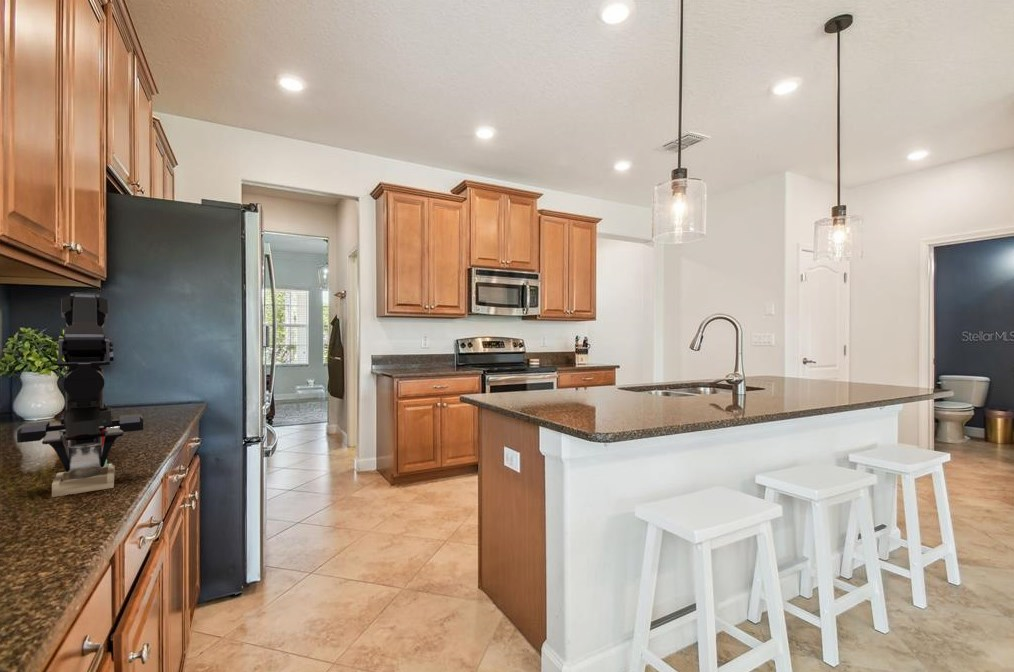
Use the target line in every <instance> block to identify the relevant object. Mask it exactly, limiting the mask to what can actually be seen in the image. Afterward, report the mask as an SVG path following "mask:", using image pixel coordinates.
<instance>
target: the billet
mask: <svg viewBox="0 0 1014 672" xmlns="http://www.w3.org/2000/svg"><path fill="white" fill-rule="evenodd" d="M101 473H102V467H101V443H86V444H79V445H74V446H71V447H69V479H82V478H89V477H93V476H97V475H99V474H101Z"/></svg>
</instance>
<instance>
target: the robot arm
mask: <svg viewBox="0 0 1014 672" xmlns="http://www.w3.org/2000/svg"><path fill="white" fill-rule="evenodd" d="M60 301H61V303H60V305H61V306H60V312H61V313H60V315H61V318H65V324H66V327H65V328H64V329H63V337H60V336H59V337H58V357H57V359H58V360H57V367H59V368H60V367H63V368H64V367H68V368H67V370H65V378H64V380H63V389H64V391H65V411H64V414H61V416H60V419H61V420H60V424H54V425H50V424H51V423H50V421H40V422H37V421H36V422H30V423H28V422H26V423H24V424H23V425H22V426H20V428H18V429H17V433H16V443H19V444H21V443H29V442H40V441H41V440H42V441H41V444H42V445H49V446H51V448H52V449H53V450H54V451H55V453H56V454H57V456H58V457H59V460H60V461H61V462H60V463H61V464H62V466H63V468H64V470H65V471H64V472H69V456H68V440H70V447H71V446H74V445H79V444H86V443H101V467H104V464H105V462H106V459H107V460H108V457H109V456H108V455H109V453H110V451H111V450H112V449H111V448H112V447H113V445H114V442H115V441H116V439H117V438H119V437H123V436H124V435H125V433H127V432H135V431H137V432H140V431H143V430H144V417H143V415H142V414H141V413H133V414H123V415H119V418H118V419H113V412H112V411H113V410H112V409H113V408H112V407H111V406H110V407H109V406H108V407H106V404H105V403H104V387H105V377H104V369H103V368H102V367H101V366H110V365H111V362H114V342H112V341H111V338H110V337H109V336H108V337H107V336H106V332H105V328H104V326H105V319H109V300H108V299H106V298H104V297H101V296H100V294H99V293H96V292H82V291H81V292H79V291H78V292H77V291H76V292H75V291H74V292H70V295H67V296H65V297H62V298H61V299H60ZM63 359H64V361H63ZM102 430H106V431H102ZM104 436H105V440H104V446H103V452H102V437H104Z"/></svg>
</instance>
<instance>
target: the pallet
mask: <svg viewBox="0 0 1014 672" xmlns="http://www.w3.org/2000/svg"><path fill="white" fill-rule="evenodd" d="M114 486H115V464H114V465H113V464H112V465H111V466H104V467H102V473H101V474H99V475H97V476H93V477H89V478H82V479H69V472H66V471H62V472H61V471H60V472H57V473H56V475H55V477H54V479H53V481H52V483H51V498H55V497H62V496H67V495H69V494H70V495H73V494H75V495H76V494H80V493H86V492H93V491H101V490H106V489H107V490H108V489H112V488H113V489H114ZM70 495H69V496H70Z"/></svg>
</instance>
